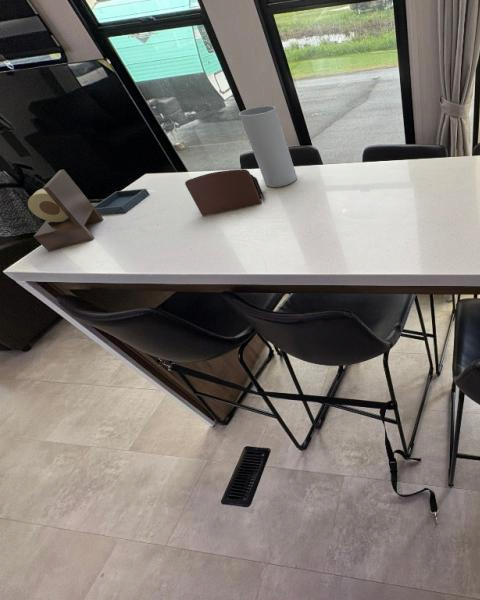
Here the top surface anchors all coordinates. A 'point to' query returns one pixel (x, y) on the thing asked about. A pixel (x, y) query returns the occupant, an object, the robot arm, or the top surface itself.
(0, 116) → the robot arm
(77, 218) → the stand
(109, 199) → the tray
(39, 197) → the tape roll
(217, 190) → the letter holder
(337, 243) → the top surface
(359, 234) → the top surface
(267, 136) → the cylinder vase
